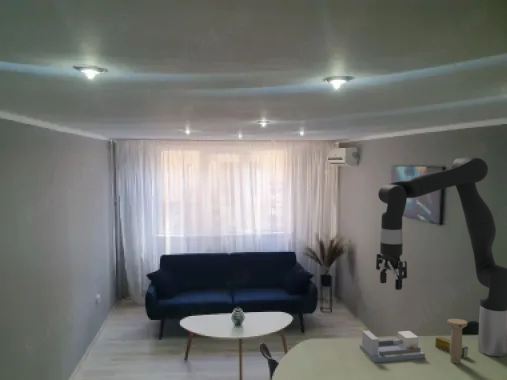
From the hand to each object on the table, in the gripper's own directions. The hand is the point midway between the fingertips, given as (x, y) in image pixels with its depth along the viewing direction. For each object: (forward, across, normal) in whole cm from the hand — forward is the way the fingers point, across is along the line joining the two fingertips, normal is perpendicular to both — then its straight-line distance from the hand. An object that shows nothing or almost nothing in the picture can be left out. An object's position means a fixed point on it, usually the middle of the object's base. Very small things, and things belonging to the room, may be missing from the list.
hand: (390, 286), depth 156 cm
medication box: (+28, -1, -27) cm, 39 cm away
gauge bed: (+28, +5, -5) cm, 28 cm away
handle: (+28, -8, -22) cm, 37 cm away
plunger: (+26, +3, -10) cm, 28 cm away
